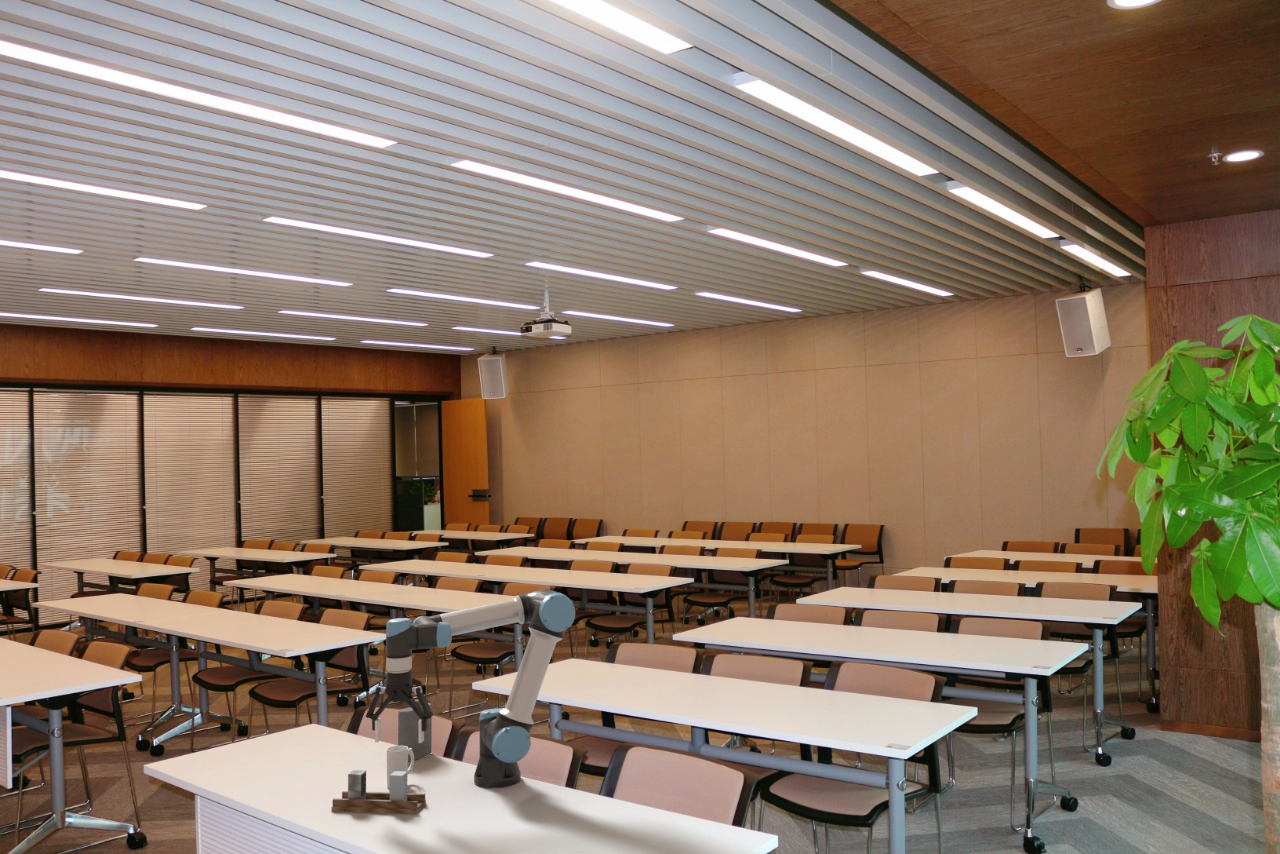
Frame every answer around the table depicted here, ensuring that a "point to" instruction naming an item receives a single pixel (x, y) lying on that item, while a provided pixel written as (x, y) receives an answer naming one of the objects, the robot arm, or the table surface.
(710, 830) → the table surface
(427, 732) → the flask
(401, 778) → the block
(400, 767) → the mug
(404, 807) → the rail
